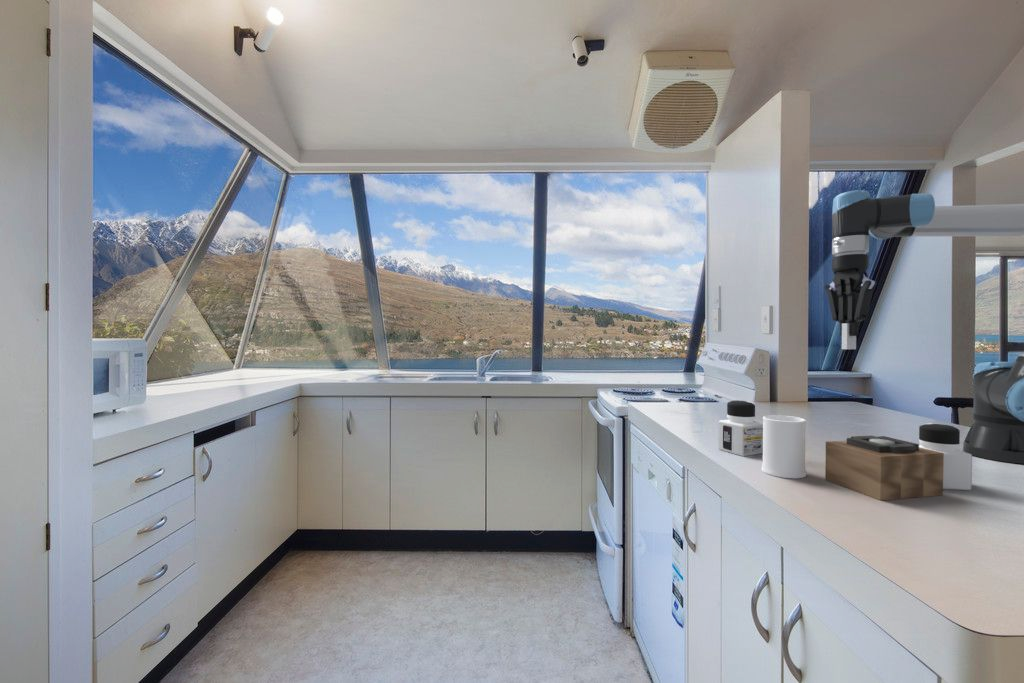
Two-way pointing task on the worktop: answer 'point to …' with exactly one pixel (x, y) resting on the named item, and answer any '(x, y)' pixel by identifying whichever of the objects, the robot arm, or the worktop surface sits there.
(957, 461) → the medicine bottle
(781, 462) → the mug
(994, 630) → the worktop surface
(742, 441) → the container
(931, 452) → the socket block
